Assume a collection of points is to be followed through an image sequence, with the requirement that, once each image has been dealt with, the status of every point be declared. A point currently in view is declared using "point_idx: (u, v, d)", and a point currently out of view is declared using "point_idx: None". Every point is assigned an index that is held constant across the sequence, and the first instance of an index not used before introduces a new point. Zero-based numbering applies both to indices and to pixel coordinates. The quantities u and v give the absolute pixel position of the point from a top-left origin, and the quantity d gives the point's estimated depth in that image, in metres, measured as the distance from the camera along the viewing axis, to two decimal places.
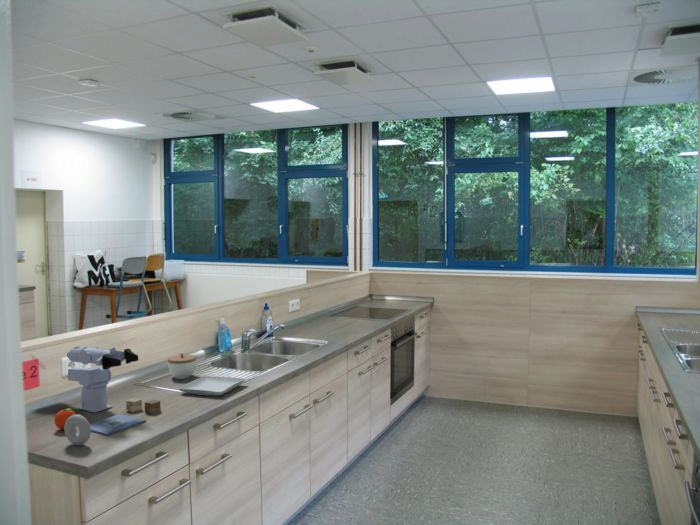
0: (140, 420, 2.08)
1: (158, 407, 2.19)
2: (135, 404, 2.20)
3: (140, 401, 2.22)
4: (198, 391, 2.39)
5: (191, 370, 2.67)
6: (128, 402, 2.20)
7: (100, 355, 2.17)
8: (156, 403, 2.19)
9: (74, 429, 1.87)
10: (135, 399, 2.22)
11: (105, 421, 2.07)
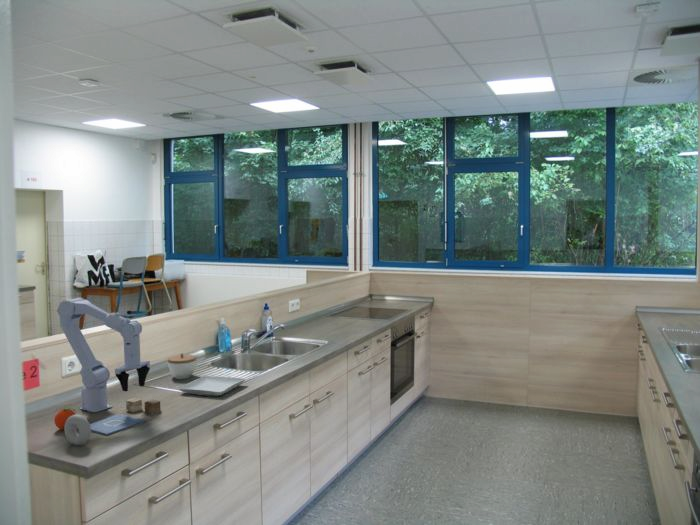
0: (140, 420, 2.08)
1: (158, 407, 2.19)
2: (135, 404, 2.20)
3: (140, 401, 2.22)
4: (198, 391, 2.39)
5: (191, 370, 2.67)
6: (128, 402, 2.20)
7: (129, 357, 2.18)
8: (156, 403, 2.18)
9: (74, 429, 1.87)
10: (135, 399, 2.22)
11: (105, 421, 2.07)
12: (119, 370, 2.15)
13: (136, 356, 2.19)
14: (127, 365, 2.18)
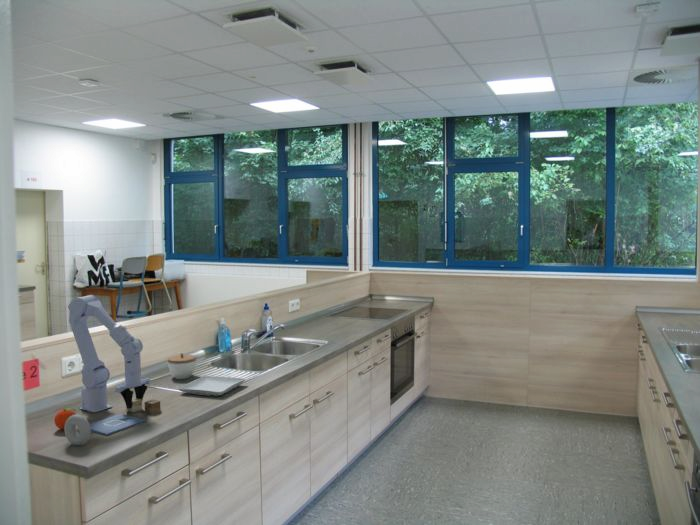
0: (140, 420, 2.08)
1: (158, 407, 2.19)
2: (135, 404, 2.20)
3: (140, 401, 2.22)
4: (198, 391, 2.39)
5: (191, 370, 2.67)
6: None
7: (129, 375, 2.18)
8: (156, 403, 2.18)
9: (74, 429, 1.87)
10: (135, 399, 2.22)
11: (105, 421, 2.07)
12: (120, 388, 2.15)
13: (137, 374, 2.19)
14: (128, 383, 2.19)
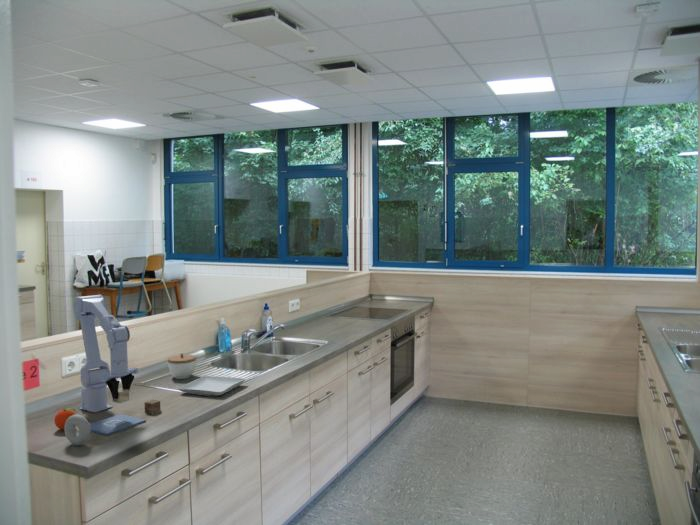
0: (140, 420, 2.08)
1: (158, 407, 2.19)
2: (122, 394, 2.08)
3: (127, 391, 2.10)
4: (198, 391, 2.39)
5: (191, 370, 2.67)
6: None
7: (115, 364, 2.06)
8: (156, 403, 2.19)
9: (74, 429, 1.87)
10: (122, 389, 2.10)
11: (105, 421, 2.07)
12: (105, 378, 2.03)
13: (123, 363, 2.08)
14: (114, 372, 2.07)
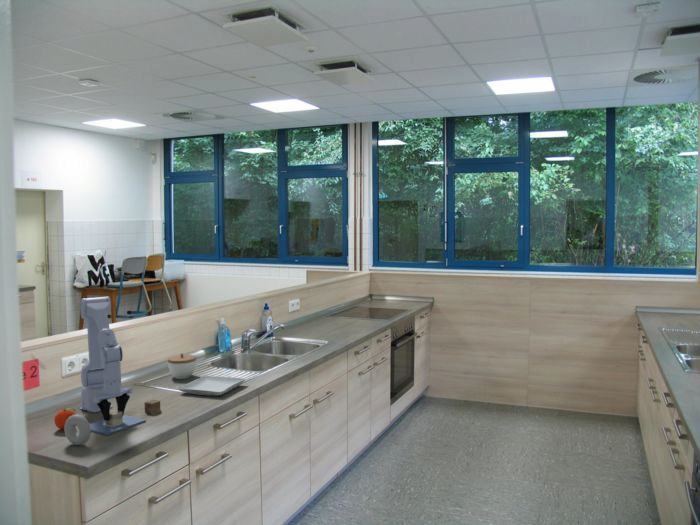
0: (140, 420, 2.08)
1: (158, 407, 2.19)
2: (115, 417, 2.03)
3: (121, 414, 2.05)
4: (198, 391, 2.39)
5: (191, 370, 2.67)
6: None
7: (108, 384, 2.01)
8: (156, 403, 2.19)
9: (74, 429, 1.87)
10: (116, 411, 2.05)
11: (105, 421, 2.07)
12: (98, 399, 1.98)
13: (116, 383, 2.02)
14: (107, 393, 2.02)
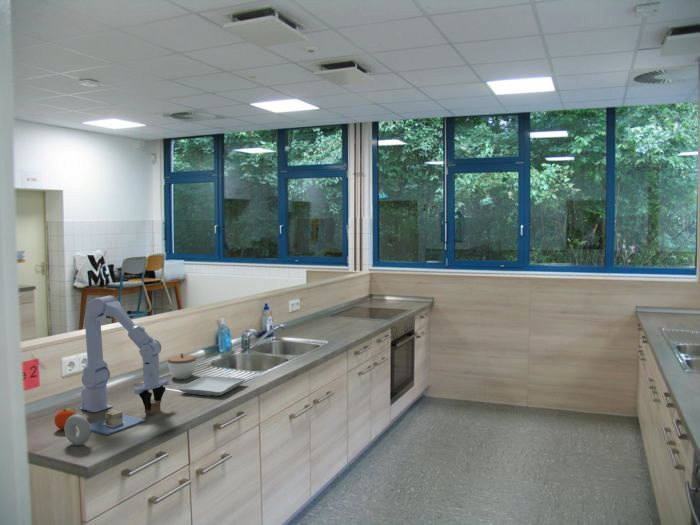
0: (140, 420, 2.08)
1: (158, 407, 2.19)
2: (115, 417, 2.03)
3: (121, 414, 2.05)
4: (198, 391, 2.39)
5: (191, 370, 2.67)
6: (107, 415, 2.03)
7: (148, 376, 2.16)
8: (156, 403, 2.19)
9: (74, 429, 1.87)
10: (116, 411, 2.05)
11: (105, 421, 2.07)
12: (139, 390, 2.13)
13: (155, 376, 2.17)
14: (146, 385, 2.16)
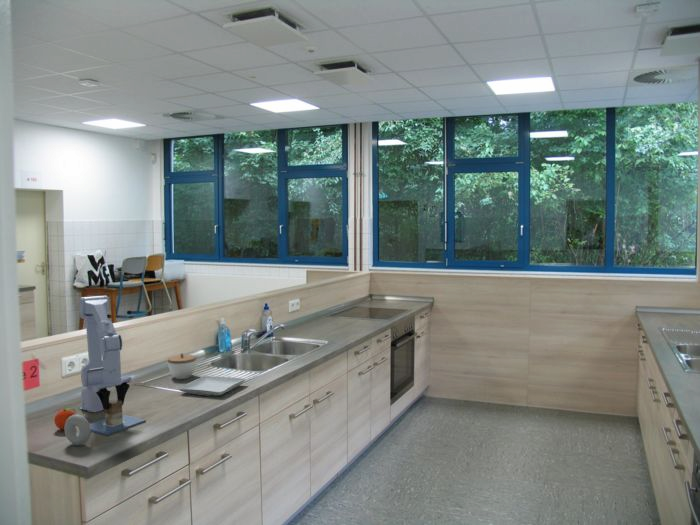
0: (140, 420, 2.08)
1: (120, 407, 2.04)
2: (115, 417, 2.03)
3: (121, 414, 2.05)
4: (198, 391, 2.39)
5: (191, 370, 2.67)
6: (107, 415, 2.03)
7: (108, 373, 2.01)
8: (117, 403, 2.04)
9: (74, 429, 1.87)
10: None
11: (105, 421, 2.07)
12: (97, 388, 1.98)
13: (116, 372, 2.02)
14: (106, 382, 2.01)
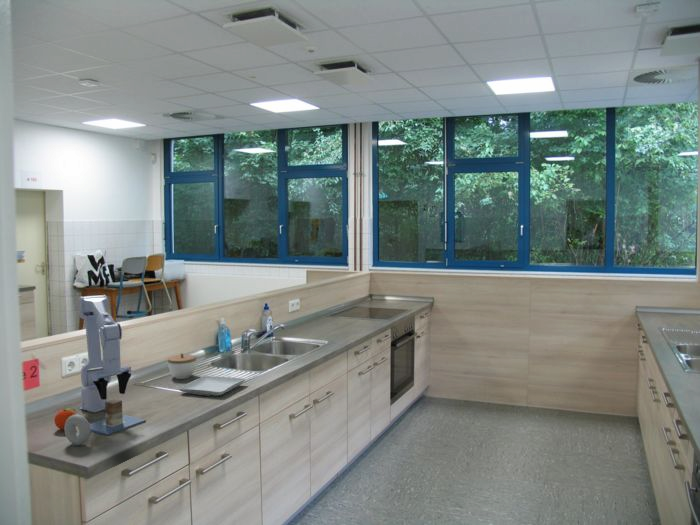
0: (140, 420, 2.08)
1: (120, 407, 2.04)
2: (115, 417, 2.03)
3: (121, 414, 2.05)
4: (198, 391, 2.39)
5: (191, 370, 2.67)
6: (107, 415, 2.03)
7: (108, 362, 2.01)
8: (117, 403, 2.04)
9: (74, 429, 1.87)
10: None
11: (105, 421, 2.07)
12: (97, 377, 1.98)
13: (116, 361, 2.02)
14: (106, 371, 2.01)
